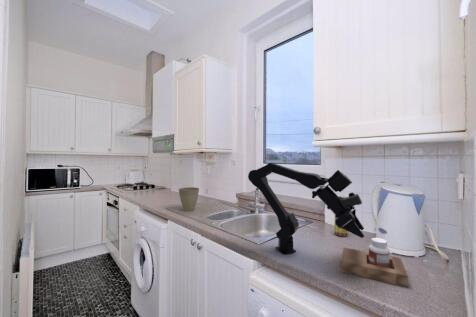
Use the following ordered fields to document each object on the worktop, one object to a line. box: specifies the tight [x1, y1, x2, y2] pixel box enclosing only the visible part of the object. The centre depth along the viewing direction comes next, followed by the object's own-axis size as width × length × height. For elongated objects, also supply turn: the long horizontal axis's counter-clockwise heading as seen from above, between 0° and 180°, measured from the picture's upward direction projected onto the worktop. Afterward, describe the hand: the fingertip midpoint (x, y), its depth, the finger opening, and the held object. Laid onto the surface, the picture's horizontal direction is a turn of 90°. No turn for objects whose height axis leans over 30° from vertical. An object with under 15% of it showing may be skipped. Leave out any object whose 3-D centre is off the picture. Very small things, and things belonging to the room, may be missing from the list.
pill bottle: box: [368, 237, 391, 268], centre depth 78 cm, size 6×6×11 cm
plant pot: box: [178, 186, 200, 212], centre depth 164 cm, size 15×15×16 cm
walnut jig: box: [340, 246, 409, 288], centre depth 79 cm, size 19×14×4 cm
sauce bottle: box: [333, 195, 349, 237], centre depth 114 cm, size 7×6×20 cm
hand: (363, 233), depth 80 cm, fingers open, 9 cm apart
